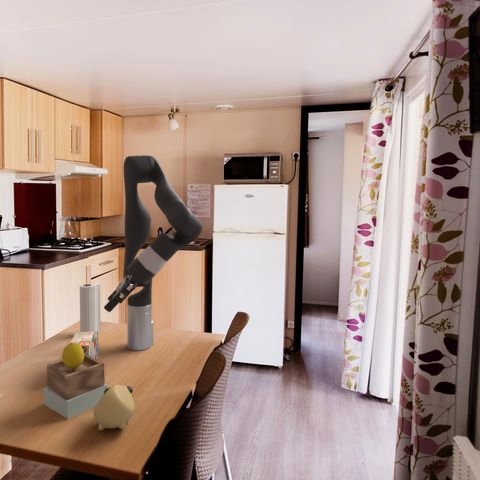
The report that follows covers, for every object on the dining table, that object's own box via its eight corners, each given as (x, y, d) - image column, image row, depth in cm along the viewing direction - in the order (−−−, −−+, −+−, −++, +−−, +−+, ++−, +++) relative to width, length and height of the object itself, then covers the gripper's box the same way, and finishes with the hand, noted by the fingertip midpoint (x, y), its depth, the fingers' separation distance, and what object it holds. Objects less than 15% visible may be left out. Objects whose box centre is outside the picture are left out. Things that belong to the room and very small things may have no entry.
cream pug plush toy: (138, 411, 104) (138, 373, 103) (130, 438, 92) (130, 396, 91) (101, 412, 103) (101, 374, 102) (88, 439, 91) (88, 397, 90)
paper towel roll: (77, 336, 158) (76, 286, 156) (85, 331, 164) (84, 283, 162) (93, 337, 157) (92, 287, 155) (100, 332, 163) (100, 284, 161)
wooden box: (84, 373, 115) (84, 353, 114) (104, 385, 108) (104, 363, 107) (47, 386, 106) (46, 364, 105) (66, 400, 99) (66, 377, 98)
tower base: (83, 388, 115) (82, 373, 115) (107, 401, 109) (107, 384, 108) (44, 405, 106) (43, 388, 105) (68, 420, 99) (67, 402, 98)
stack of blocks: (80, 356, 139) (80, 323, 138) (98, 355, 140) (98, 322, 139) (68, 383, 118) (67, 345, 117) (89, 382, 119) (89, 344, 118)
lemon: (65, 376, 102) (62, 348, 101) (62, 368, 107) (59, 341, 106) (87, 370, 105) (84, 343, 104) (83, 363, 110) (80, 336, 109)
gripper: (138, 252, 116) (101, 290, 115) (136, 260, 102) (94, 304, 101) (156, 268, 118) (120, 306, 117) (157, 278, 104) (115, 321, 103)
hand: (108, 305), depth 109 cm, fingers open, 8 cm apart
